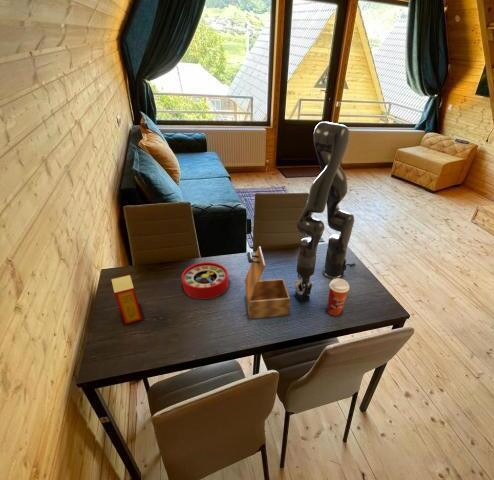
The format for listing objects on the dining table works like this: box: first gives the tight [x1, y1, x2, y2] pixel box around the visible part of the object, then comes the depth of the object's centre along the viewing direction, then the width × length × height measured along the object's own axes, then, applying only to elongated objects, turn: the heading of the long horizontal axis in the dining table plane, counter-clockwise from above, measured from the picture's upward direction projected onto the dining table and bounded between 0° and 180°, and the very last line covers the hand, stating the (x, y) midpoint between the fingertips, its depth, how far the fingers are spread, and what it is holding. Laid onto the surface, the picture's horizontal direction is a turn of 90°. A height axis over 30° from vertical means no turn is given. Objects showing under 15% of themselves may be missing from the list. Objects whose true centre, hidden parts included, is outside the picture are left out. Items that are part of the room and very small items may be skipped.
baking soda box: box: [110, 274, 144, 325], centre depth 122 cm, size 10×6×16 cm
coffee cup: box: [327, 277, 350, 317], centre depth 132 cm, size 8×8×15 cm
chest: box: [245, 278, 291, 320], centre depth 133 cm, size 17×14×9 cm
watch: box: [294, 278, 314, 304], centre depth 138 cm, size 6×8×11 cm
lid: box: [244, 245, 266, 302], centre depth 123 cm, size 18×14×5 cm
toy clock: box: [181, 261, 229, 300], centre depth 143 cm, size 20×6×20 cm
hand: (302, 293), depth 140 cm, fingers open, 6 cm apart
